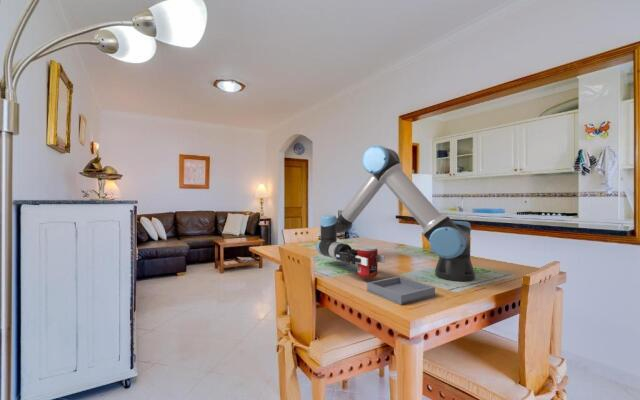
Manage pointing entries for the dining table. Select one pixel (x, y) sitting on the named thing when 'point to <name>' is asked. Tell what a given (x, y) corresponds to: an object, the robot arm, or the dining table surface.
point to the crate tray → (401, 290)
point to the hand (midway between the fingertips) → (375, 260)
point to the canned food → (372, 257)
